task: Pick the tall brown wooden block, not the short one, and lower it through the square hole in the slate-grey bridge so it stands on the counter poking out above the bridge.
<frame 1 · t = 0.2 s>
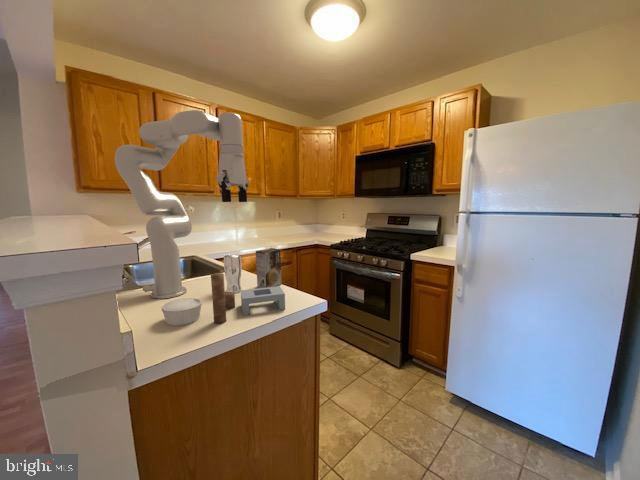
hand: (235, 201, 95), 37 cm above the countertop, tool pointing down, fingers open, 9 cm apart
hole bridge: (262, 307, 94), on the countertop
short pin: (229, 307, 94), on the countertop
tall brown wooden block: (220, 321, 83), on the countertop
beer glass: (234, 291, 112), on the countertop
coffee box: (269, 286, 119), on the countertop
ramekin: (183, 320, 85), on the countertop
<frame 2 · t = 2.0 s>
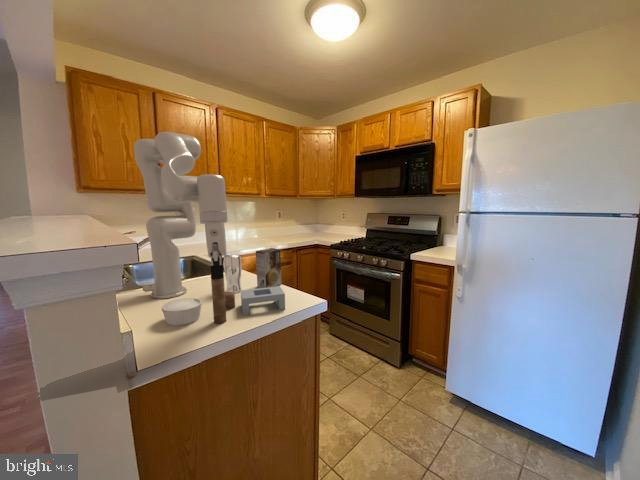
hand: (218, 274, 81), 15 cm above the countertop, tool pointing down, fingers open, 9 cm apart
nothing on the countertop moved.
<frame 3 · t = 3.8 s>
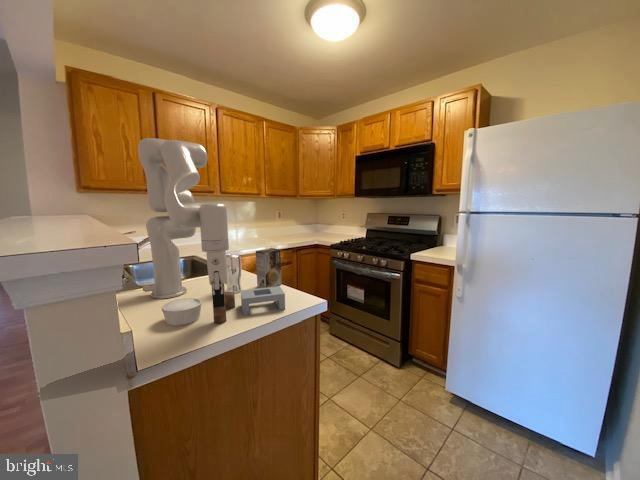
hand: (219, 303, 82), 6 cm above the countertop, tool pointing down, fingers closed on tall brown wooden block, 3 cm apart
tall brown wooden block: (220, 321, 83), on the countertop, touching gripper
everything else where it was.
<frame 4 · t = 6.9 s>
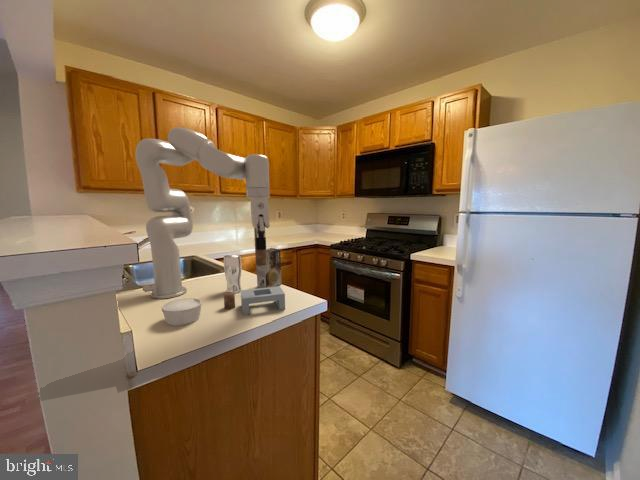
hand: (260, 247, 91), 21 cm above the countertop, tool pointing down, fingers closed on tall brown wooden block, 3 cm apart
tall brown wooden block: (261, 264, 92), point 15 cm above the countertop, touching gripper
everything else where it was.
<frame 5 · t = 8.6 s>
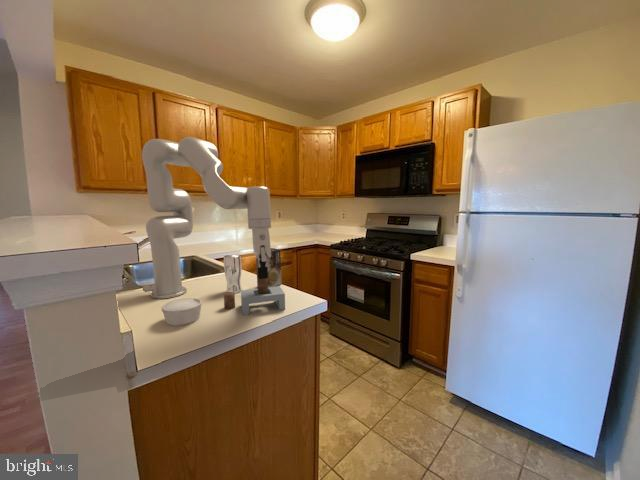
hand: (262, 276, 93), 11 cm above the countertop, tool pointing down, fingers closed on tall brown wooden block, 3 cm apart
tall brown wooden block: (263, 292, 93), point 5 cm above the countertop, touching gripper
everything else where it was.
when the fingers open (7 cm above the countertop, at t = 10.1 s): tall brown wooden block drops 1 cm, on the countertop.
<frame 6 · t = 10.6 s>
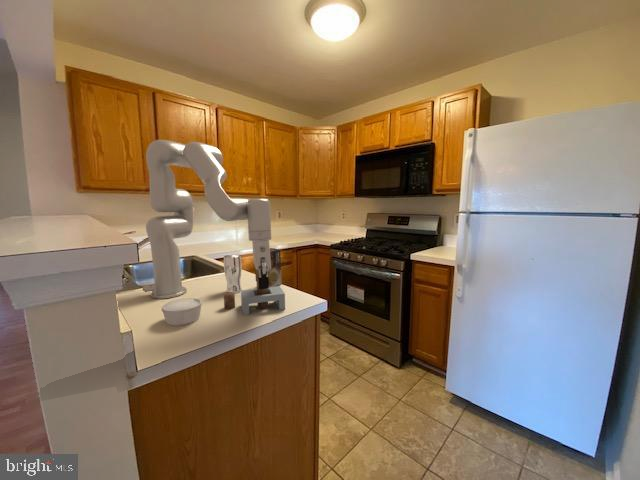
hand: (262, 284, 93), 8 cm above the countertop, tool pointing down, fingers open, 9 cm apart
tall brown wooden block: (262, 307, 94), on the countertop
everything else where it was.
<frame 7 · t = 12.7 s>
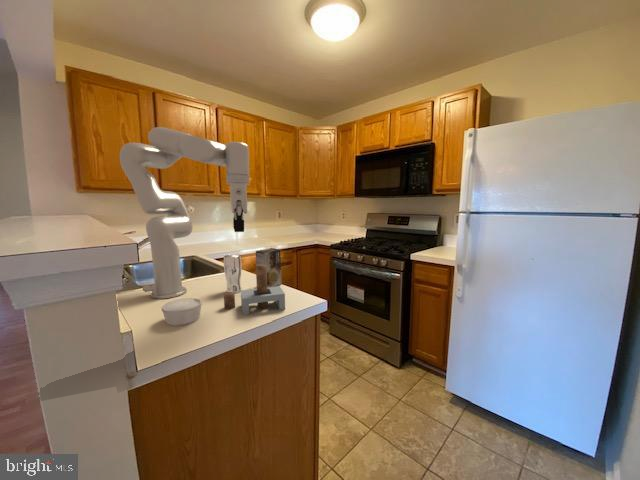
hand: (238, 230, 94), 27 cm above the countertop, tool pointing down, fingers open, 9 cm apart
nothing on the countertop moved.
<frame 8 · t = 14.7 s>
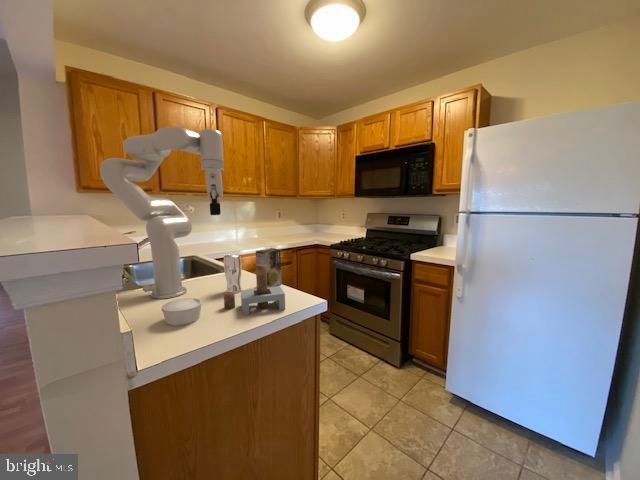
hand: (215, 214, 98), 32 cm above the countertop, tool pointing down, fingers open, 9 cm apart
nothing on the countertop moved.
at the end: tall brown wooden block 0.0 cm off-centre on the hole bridge, point 0.0 cm above the hole bridge's base; tall brown wooden block tilted 0°; short pin moved 0.0 cm from its start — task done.
